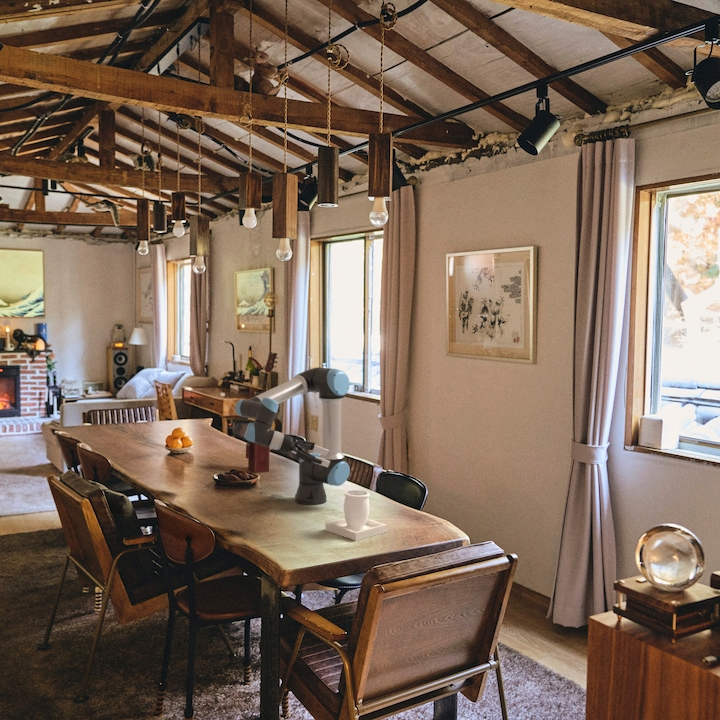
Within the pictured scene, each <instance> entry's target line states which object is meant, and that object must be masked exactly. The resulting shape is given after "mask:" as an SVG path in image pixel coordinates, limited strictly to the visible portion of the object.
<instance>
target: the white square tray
mask: <svg viewBox="0 0 720 720" xmlns="http://www.w3.org/2000/svg"><path fill="white" fill-rule="evenodd" d="M346 525H347V523H346V520H345V517H343V518H339V519H335V520H331V521H327V522H325V531H326V532H330V533H332V534H335V535H337V534H338V535H337V536H340V535H341V537H343V536H344V538H346V537H347V538H346V539H348V538H350V539H349V540H351V539H352V540H351V541H354V540H355V541H354V542H357V540H358V541H361V540H360V539H362V540H365V539H368V538H367V537H369V538H371V537H370V536H372V537H375V536H374V535H376V536H378V535H377V534H379V535H382V534H381V533H383V534H385V533H384V532H386V533H387V532H388V524H385V523H383V522H379V521H377V520H374V519H371V518H368V519H367V522H366V524H365V526H366V529H364V530H360V531H353V530H350V529H347V528H346ZM364 538H365V539H364Z"/></svg>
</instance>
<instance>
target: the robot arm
mask: <svg viewBox="0 0 720 720" xmlns="http://www.w3.org/2000/svg"><path fill="white" fill-rule="evenodd" d="M350 384H351V383H350V378H349V376H348V374H347V373H346V372H345V371H344V370H341V369H338V368H330V367H329V368H328V367H320V366H319V367H313V368H310V369H307V370H304V371H302V372H300V373H297V374H295V375H294V376H293V378H292V379H290V380H288V381H286V382H283V383H281V384H280V385H279V384H278V385H277V386H274V387H273V388H271V389H268V390H267V391H264V392H262V393H259V394H258V395H255V396H253V397H251V398H249V399H246V398H244V399H239V400H238V401H237V402H236V403H235V406H234V407H235V408H234V411H235V413H236V415H238V416H239V417H243V418H246V419H253V420H254V422H249V423H248V425H247V427H246V430H245V432H244V436H243V437H244V439H245V440H246V441H248V440H249V441H251V442H253V443H256V444H259V445H262V446H265V447H269V448H270V450H271V451H272V450H275V451H278V452H280V453H283V454H288V453H289V451H290V455H292V456H295V457H297V458H299V462H298V463H299V464H298V465H299V467H298V470H299V472H298V477H299V478H298V487H297V490H296V493H295V495H294V501H295V502H296V503H298V504H300V505H301V504H302V505H321V504H324V503H326V502H327V494H326V490H325V487H324V484H326V485H330V486H333V487H334V486H335V487H339V486H342V485H343V484H345V483H346V481H347V480H348V479H349V476H350V473H351V469H350V465H349V464H348V462H346V461H345V454H343V452H342V401H343V400H344V399H345V395H346V394H348V390H350ZM307 393H318V398H319V400H320V401H321V402H322V405H321V406H322V447H321V446H318V445H315V444H316V443H315V442H312V441H307V440H301V439H297V438H293V436H292V435H289V434H284V433H283V432H280V431H277V430H274V429H272V426H273V424H274V422H275V419H276V416H277V414H278V411H279V406H280V405H279V404H282V403H283V402H285V401H287V400H290V399H291V398H294V397H296V396H299V395H305V394H307ZM308 451H312V452H308Z"/></svg>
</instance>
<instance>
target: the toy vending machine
mask: <svg viewBox="0 0 720 720" xmlns="http://www.w3.org/2000/svg"><path fill="white" fill-rule="evenodd" d="M270 450H271V449H270V448H269V447H265V446H262V445H259V444H256V443H253V442H251V441H249V440H246V444H245V458H246V459H247V460H248V463H247V471H249V472H251V473H254V474H260V473H261V474H262V473H268V472H270Z"/></svg>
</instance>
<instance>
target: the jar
mask: <svg viewBox="0 0 720 720" xmlns="http://www.w3.org/2000/svg"><path fill="white" fill-rule="evenodd" d="M343 494H344V497H345V498H344V503H343V511H344V512H343V514H344V518H345V520H346V523H347V525H346V528H347V529H350V530H353V531H360V530H364V529H366V526H365V524H366V522H367V519H369V513H370V500H369V497H370V495H371V493H370V492H368V491H366V490H358V489H352V490H346V491H345V492H344V493H343Z"/></svg>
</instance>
